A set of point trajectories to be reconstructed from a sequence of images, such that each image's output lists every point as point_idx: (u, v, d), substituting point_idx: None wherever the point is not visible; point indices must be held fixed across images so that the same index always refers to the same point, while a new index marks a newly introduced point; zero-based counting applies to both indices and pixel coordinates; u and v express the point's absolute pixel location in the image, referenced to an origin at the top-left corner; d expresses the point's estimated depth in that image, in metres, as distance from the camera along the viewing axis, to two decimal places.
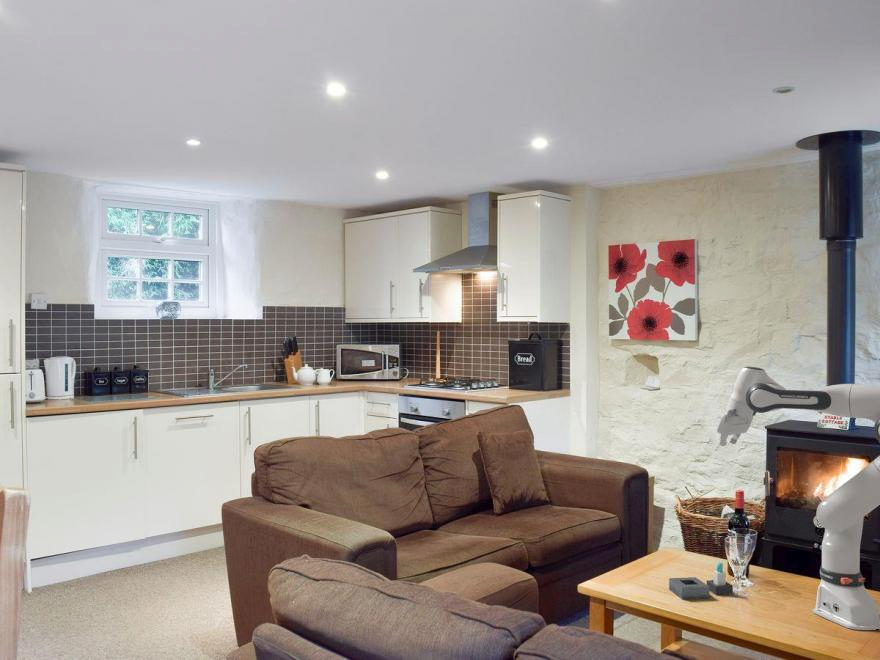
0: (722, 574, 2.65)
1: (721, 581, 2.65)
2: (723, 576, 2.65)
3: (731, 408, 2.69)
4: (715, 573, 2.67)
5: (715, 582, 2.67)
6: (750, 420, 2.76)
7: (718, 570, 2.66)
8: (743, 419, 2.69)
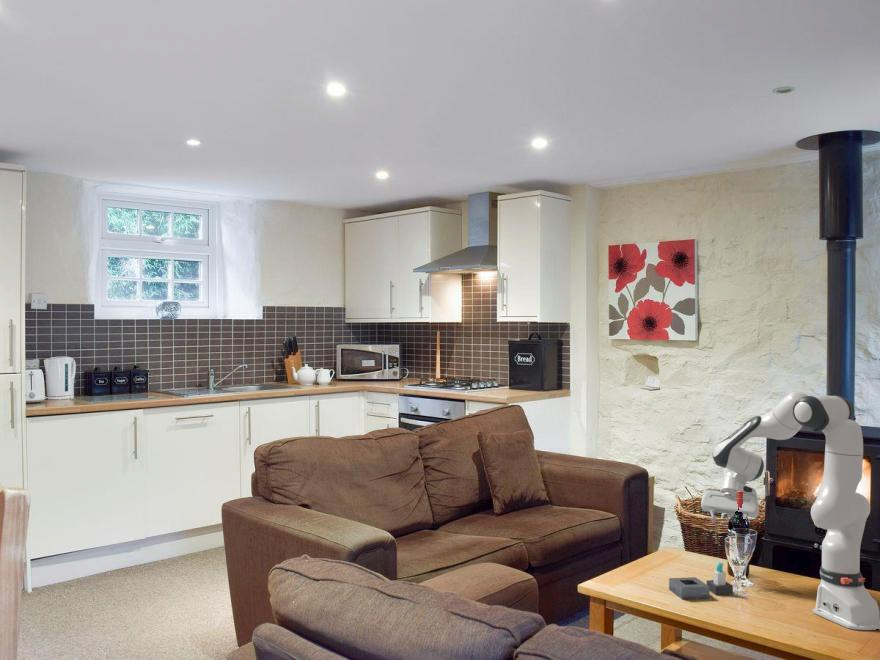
0: (722, 574, 2.65)
1: (721, 581, 2.65)
2: (723, 576, 2.65)
3: None
4: (715, 573, 2.67)
5: (715, 582, 2.67)
6: (752, 499, 2.78)
7: (718, 570, 2.66)
8: (726, 492, 2.83)
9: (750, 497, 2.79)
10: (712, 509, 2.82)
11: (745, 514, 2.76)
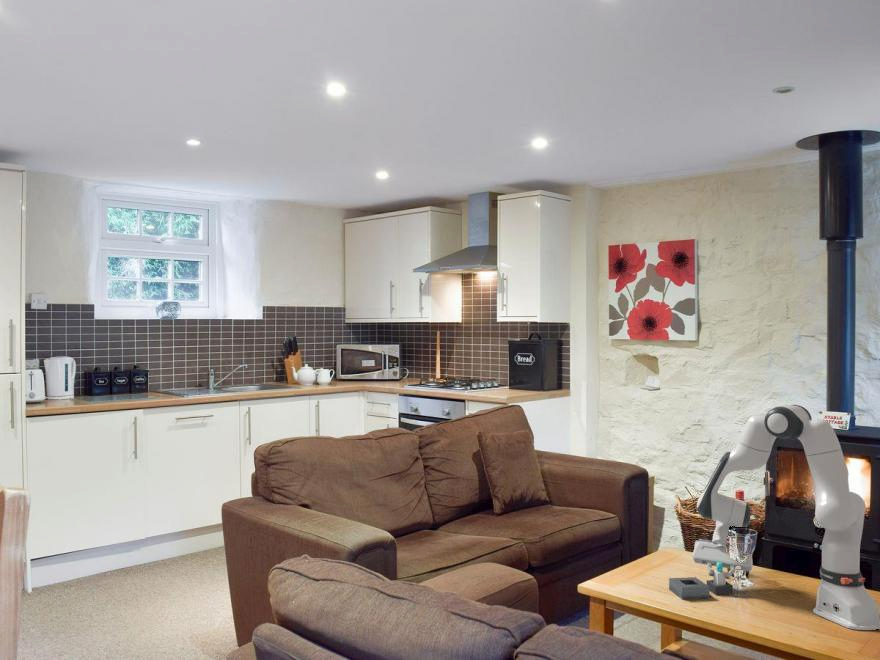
0: (722, 574, 2.65)
1: (721, 581, 2.65)
2: (723, 576, 2.65)
3: None
4: (715, 573, 2.67)
5: (715, 582, 2.67)
6: None
7: (718, 570, 2.66)
8: (719, 544, 2.72)
9: None
10: (709, 563, 2.70)
11: (732, 567, 2.66)
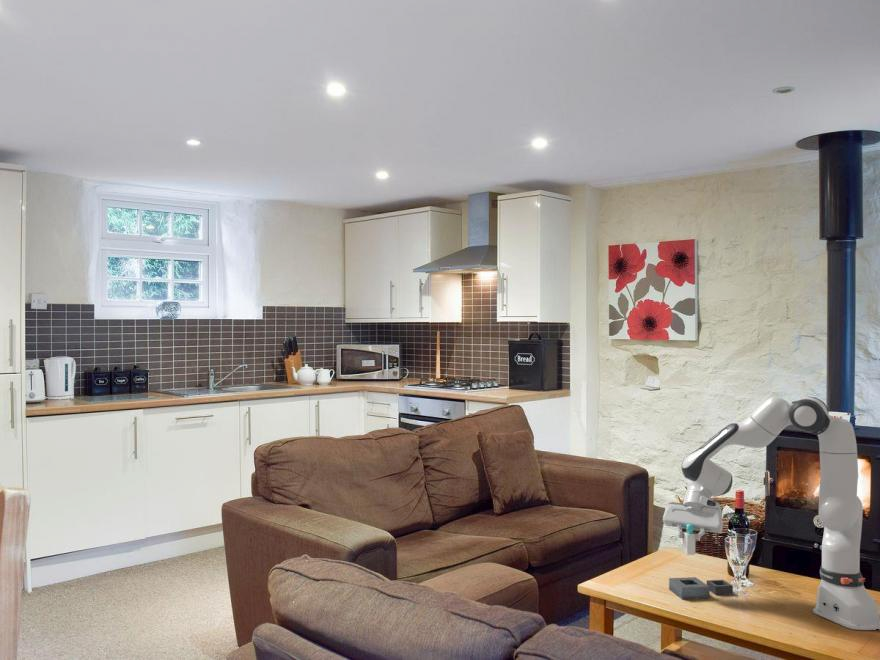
0: (692, 536, 2.63)
1: (690, 542, 2.63)
2: (693, 538, 2.63)
3: None
4: (685, 535, 2.64)
5: (685, 544, 2.64)
6: (716, 514, 2.64)
7: (688, 532, 2.64)
8: (689, 506, 2.69)
9: (713, 511, 2.65)
10: (680, 525, 2.67)
11: (702, 529, 2.63)
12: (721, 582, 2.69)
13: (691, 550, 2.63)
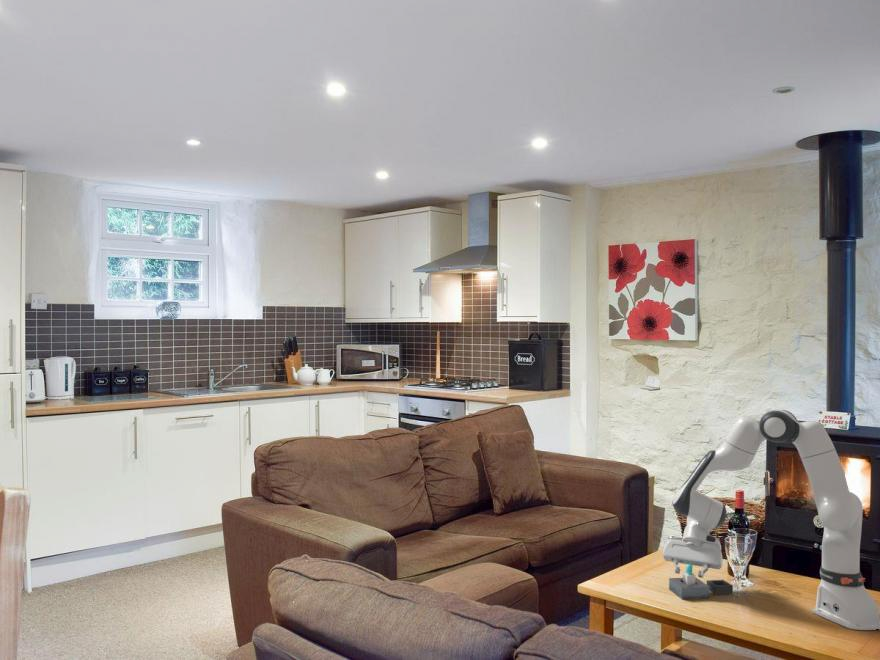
0: (692, 576, 2.63)
1: (690, 583, 2.62)
2: (693, 578, 2.63)
3: None
4: (685, 575, 2.64)
5: (685, 584, 2.64)
6: (716, 550, 2.64)
7: (688, 572, 2.63)
8: (689, 542, 2.69)
9: (713, 547, 2.65)
10: (676, 560, 2.68)
11: (706, 565, 2.62)
12: (721, 582, 2.69)
13: None
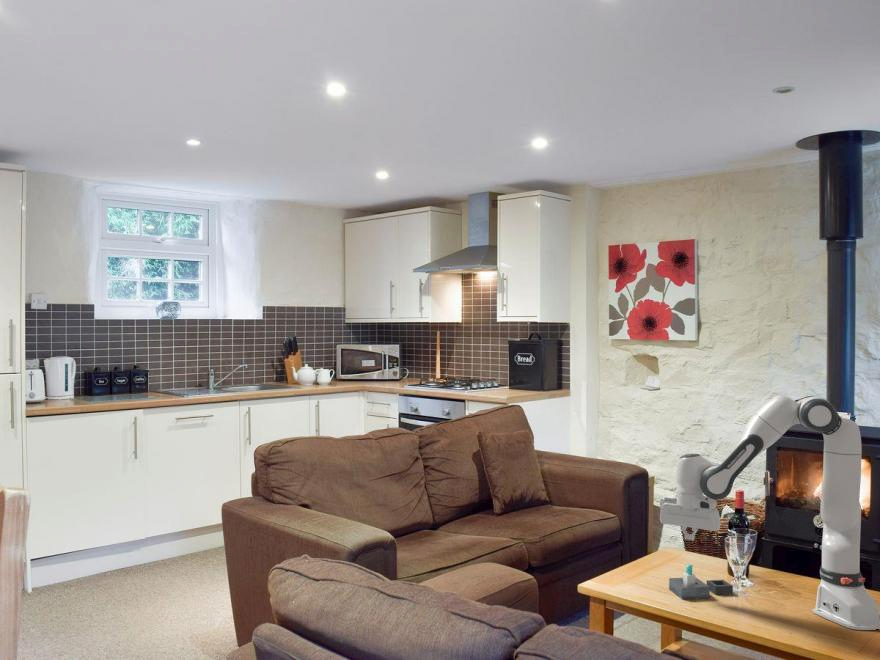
0: (692, 576, 2.63)
1: (690, 583, 2.62)
2: (693, 578, 2.63)
3: None
4: (685, 575, 2.64)
5: (685, 584, 2.64)
6: (711, 515, 2.58)
7: (688, 572, 2.63)
8: (683, 509, 2.63)
9: (708, 512, 2.59)
10: (684, 527, 2.64)
11: (694, 530, 2.62)
12: (721, 582, 2.69)
13: None
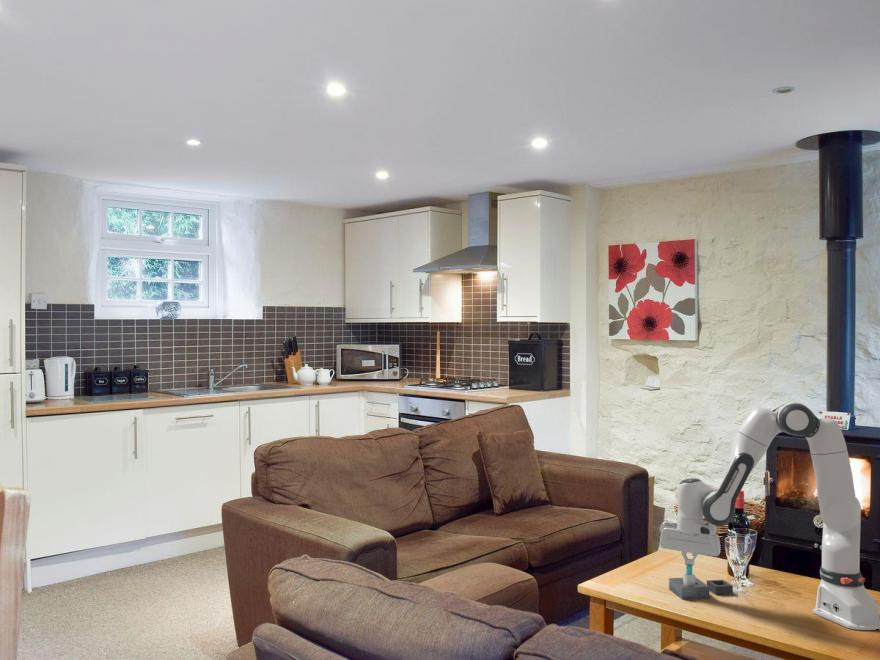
0: (692, 576, 2.63)
1: (690, 583, 2.62)
2: (693, 578, 2.63)
3: None
4: (685, 575, 2.64)
5: (685, 584, 2.64)
6: (712, 541, 2.58)
7: (688, 572, 2.63)
8: (684, 534, 2.62)
9: (709, 538, 2.59)
10: (684, 552, 2.64)
11: (695, 555, 2.62)
12: (721, 582, 2.69)
13: None
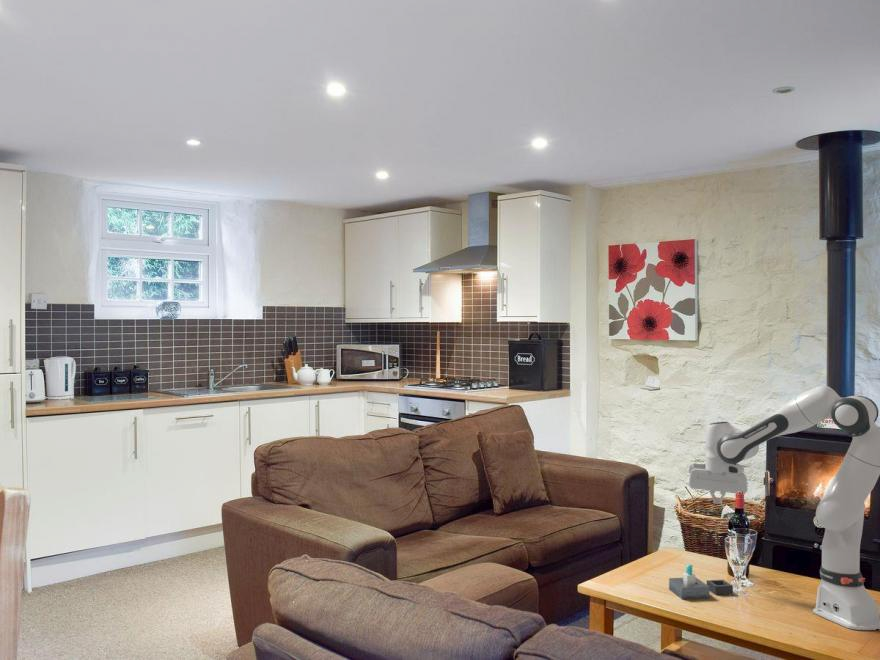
0: (692, 576, 2.63)
1: (690, 583, 2.62)
2: (693, 578, 2.63)
3: None
4: (685, 575, 2.64)
5: (685, 584, 2.64)
6: (739, 479, 2.70)
7: (688, 572, 2.63)
8: (712, 474, 2.75)
9: (737, 477, 2.71)
10: (712, 492, 2.76)
11: (723, 493, 2.74)
12: (721, 582, 2.69)
13: None
